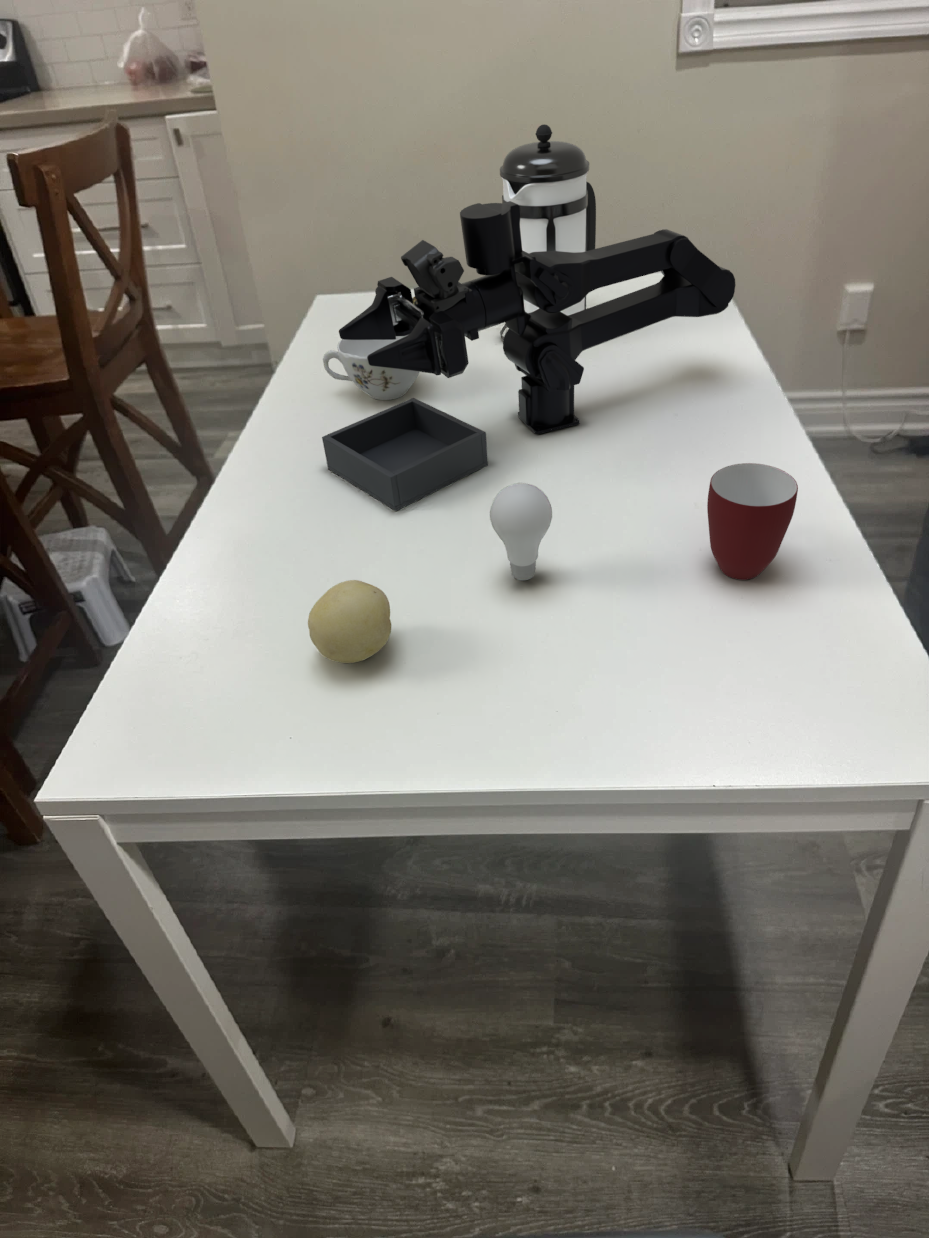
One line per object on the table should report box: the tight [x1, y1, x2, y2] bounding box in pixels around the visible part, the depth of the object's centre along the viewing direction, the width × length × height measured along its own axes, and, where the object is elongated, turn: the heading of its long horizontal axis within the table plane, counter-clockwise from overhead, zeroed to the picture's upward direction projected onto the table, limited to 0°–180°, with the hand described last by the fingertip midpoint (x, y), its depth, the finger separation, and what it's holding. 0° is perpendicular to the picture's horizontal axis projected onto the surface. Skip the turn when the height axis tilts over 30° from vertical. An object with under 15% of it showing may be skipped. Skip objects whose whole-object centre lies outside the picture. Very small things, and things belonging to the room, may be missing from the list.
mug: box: [706, 462, 799, 581], centre depth 86 cm, size 10×8×10 cm
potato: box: [307, 579, 392, 664], centre depth 80 cm, size 8×8×8 cm
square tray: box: [321, 397, 489, 512], centre depth 108 cm, size 15×15×5 cm
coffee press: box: [499, 124, 597, 341], centre depth 131 cm, size 17×16×30 cm
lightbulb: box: [489, 482, 553, 582], centre depth 86 cm, size 6×6×11 cm
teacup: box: [322, 335, 420, 401], centre depth 125 cm, size 15×12×8 cm
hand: (353, 347), depth 98 cm, fingers open, 9 cm apart
